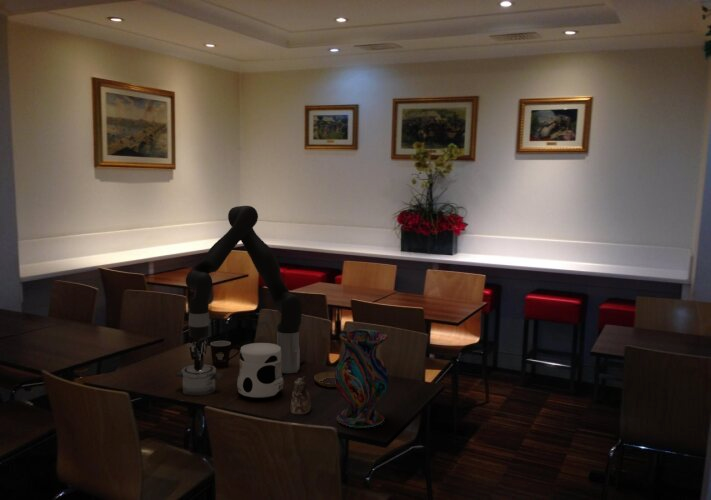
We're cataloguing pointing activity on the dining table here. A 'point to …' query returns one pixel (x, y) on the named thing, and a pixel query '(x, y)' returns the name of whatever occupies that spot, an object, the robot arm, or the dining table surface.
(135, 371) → the dining table surface
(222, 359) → the coffee mug
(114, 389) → the dining table surface
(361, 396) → the vase
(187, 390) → the pot
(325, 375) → the plant saucer
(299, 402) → the figurine
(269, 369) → the milk container
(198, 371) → the lid
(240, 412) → the dining table surface
